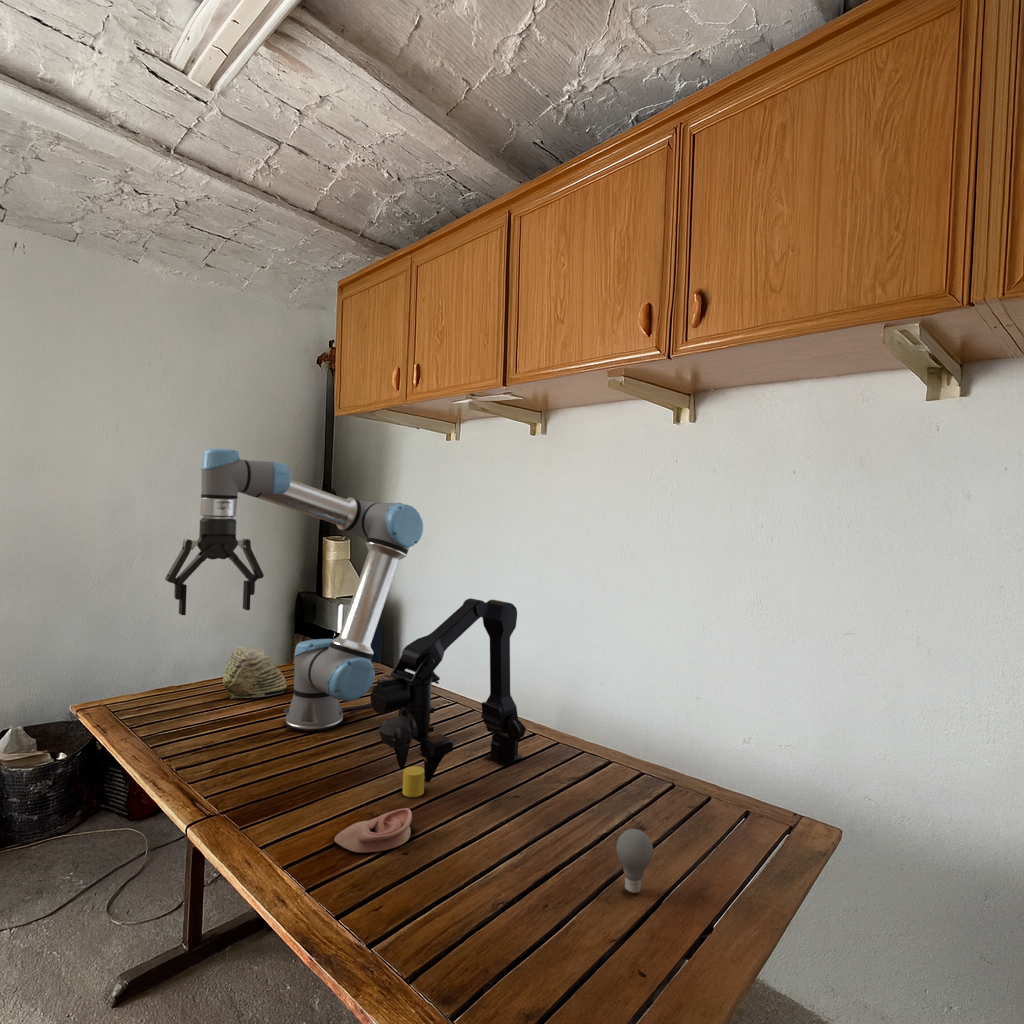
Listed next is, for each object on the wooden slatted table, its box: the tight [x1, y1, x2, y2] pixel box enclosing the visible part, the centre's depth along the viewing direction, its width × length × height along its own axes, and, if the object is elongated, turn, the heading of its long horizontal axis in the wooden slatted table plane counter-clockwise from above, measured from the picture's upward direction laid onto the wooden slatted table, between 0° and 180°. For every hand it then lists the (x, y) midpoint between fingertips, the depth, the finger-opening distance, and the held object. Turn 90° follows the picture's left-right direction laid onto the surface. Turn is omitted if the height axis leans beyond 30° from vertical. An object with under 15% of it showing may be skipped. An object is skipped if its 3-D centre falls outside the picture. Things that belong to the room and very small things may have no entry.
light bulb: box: [615, 828, 654, 894], centre depth 106 cm, size 6×6×10 cm
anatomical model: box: [333, 807, 413, 854], centre depth 119 cm, size 13×4×12 cm
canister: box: [401, 765, 425, 798], centre depth 138 cm, size 5×5×5 cm
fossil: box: [222, 646, 288, 699], centre depth 198 cm, size 9×18×15 cm, turn 132°
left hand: (215, 611), depth 143 cm, fingers open, 13 cm apart
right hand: (414, 774), depth 137 cm, fingers open, 9 cm apart
